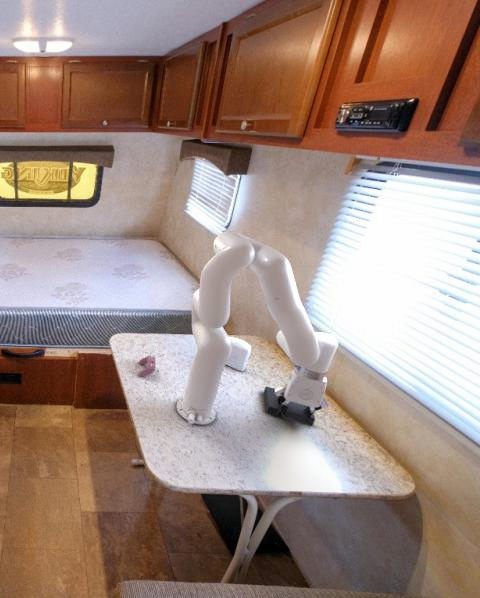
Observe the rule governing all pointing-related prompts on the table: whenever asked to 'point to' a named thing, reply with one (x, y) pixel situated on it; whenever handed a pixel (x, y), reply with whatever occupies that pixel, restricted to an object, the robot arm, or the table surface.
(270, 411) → the base pad
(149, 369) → the video game controller
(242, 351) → the photo printer
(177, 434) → the table surface
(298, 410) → the pad
